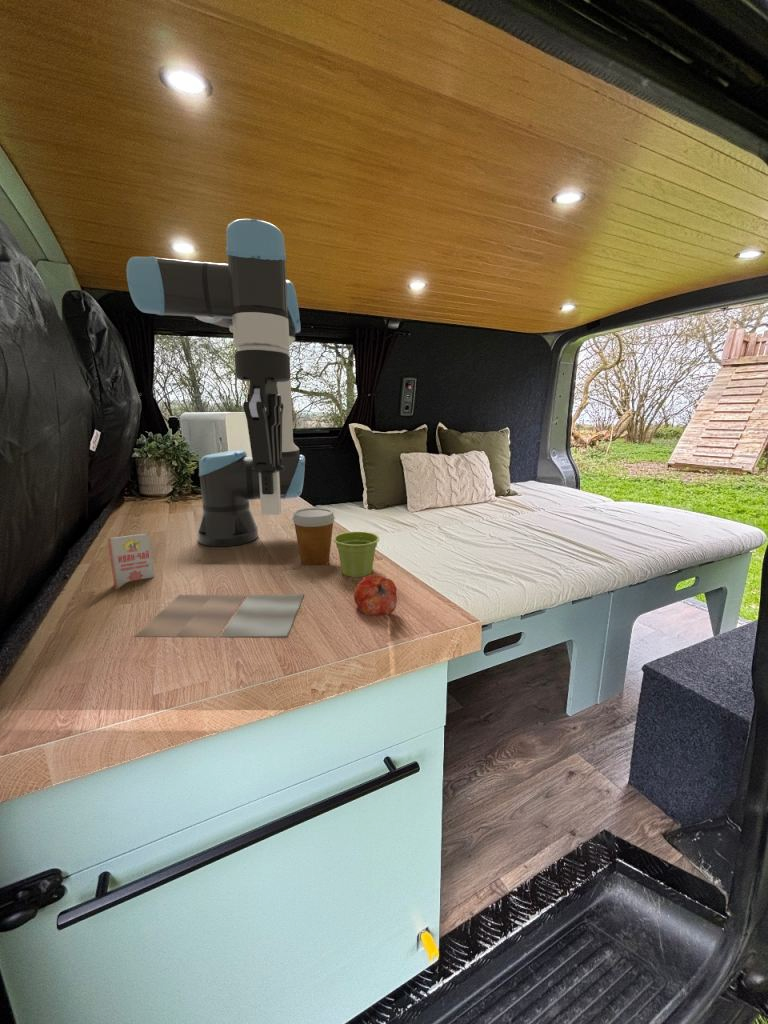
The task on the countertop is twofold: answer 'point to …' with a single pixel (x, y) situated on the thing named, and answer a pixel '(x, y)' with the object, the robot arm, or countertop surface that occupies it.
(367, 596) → the pomegranate
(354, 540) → the plant pot
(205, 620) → the floorboard
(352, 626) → the countertop surface
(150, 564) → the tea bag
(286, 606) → the grey flat slab
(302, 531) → the disposable coffee cup
